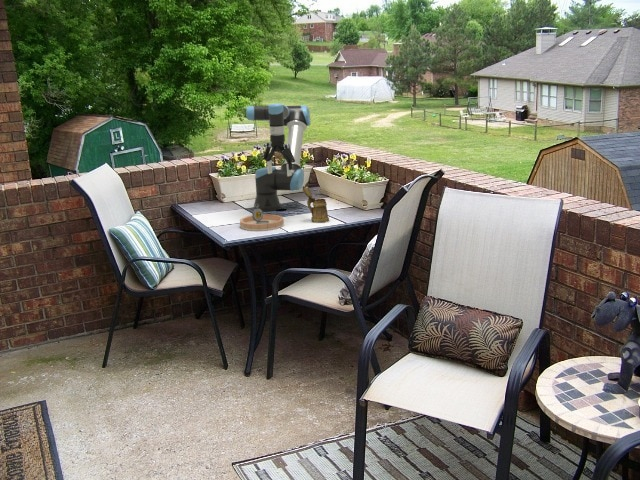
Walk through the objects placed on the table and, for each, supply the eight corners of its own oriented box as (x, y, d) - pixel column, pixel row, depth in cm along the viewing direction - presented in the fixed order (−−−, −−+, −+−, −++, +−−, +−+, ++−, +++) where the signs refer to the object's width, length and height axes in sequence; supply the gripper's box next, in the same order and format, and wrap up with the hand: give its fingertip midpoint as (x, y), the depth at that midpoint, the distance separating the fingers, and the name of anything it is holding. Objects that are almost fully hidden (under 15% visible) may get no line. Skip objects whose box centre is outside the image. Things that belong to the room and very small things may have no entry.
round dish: (231, 227, 354) (230, 221, 353) (260, 218, 371) (259, 212, 370) (264, 232, 341) (263, 226, 340) (292, 223, 358) (292, 217, 357)
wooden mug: (306, 218, 369) (305, 184, 364) (331, 219, 364) (330, 185, 360) (301, 222, 361) (299, 187, 356) (325, 223, 356) (324, 188, 352)
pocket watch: (267, 225, 352) (266, 206, 349) (251, 225, 353) (250, 206, 351) (271, 221, 360) (270, 202, 357) (255, 221, 361) (254, 202, 358)
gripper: (254, 133, 365) (257, 173, 371) (291, 136, 350) (293, 178, 356) (264, 131, 371) (266, 171, 377) (300, 134, 356) (302, 175, 362)
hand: (279, 174), depth 367 cm, fingers open, 13 cm apart
